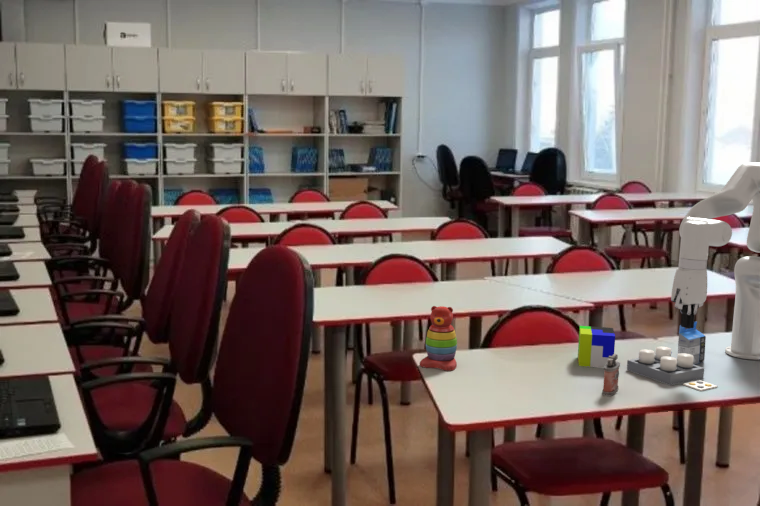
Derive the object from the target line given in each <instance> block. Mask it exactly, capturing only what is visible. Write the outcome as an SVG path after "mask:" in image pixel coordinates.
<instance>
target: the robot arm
mask: <svg viewBox="0 0 760 506" xmlns="http://www.w3.org/2000/svg"><path fill="white" fill-rule="evenodd" d="M751 201H752V203H753V208H752V209H753V211H752V215H751V219H750V224H749V228H748V231H747V232H748V233H747V238H746V246H747V248H748V250H750V251H751V252H755V253H757V254H758V253H760V162H755V161H754V162H752V161H751V162H745V163H742V164H740V166H738V168H736V170H735V171H734V173H733V174H732V175H731V177H730V178H729V179H728V181H727V182H726V184H725V185H724V186H723V188H722V189H721V191H719V192H717V193H714V194H712V195H711V196H707V197H706V198H704V199H702V200H701V201H698V202H697V203H696V204H694V205H693V206H692V207H691V208H690V209H689V210H688V212H687V213H686V215H685V216H684V218H683V219H682V220H681V223H680V225H679V230H678V231H679V232H678V233H679V237H680V246H679V254H678V255H679V256H678V267H677V268H676V270H675V273H674V277H673V282H672V288H671V295H670V296H671V297H670V300H671V302H672V303H675V304H674V308H675V309H678V310H680V311H679V312H680V314H681V320H680V325H681V327H685V329H690V328H694V322H695V317H696V314H698V313H697V312H698V309H699V308H701V307H703V306H704V303H705V302H706V300H707V296H708V271H707V270H708V269H707V268H708V267H707V265H708V258H709V257H708V256H709V248H710V247H722V246H725V245H727V244H728V243H730V241H731V239H732V235H733V229H732V227H731V225H730V224H729V223H728V222H726V221H723V220H719V219H715V218H720V217H725V216H730V215H734V214H738V213H740V212H743V211H744V210H745V209H746V208H747V207H748V206H749V204H750V202H751ZM733 274H734V284H735V299H734V307H733V321H732V332H731V342H730V345H729V346H726V347H725V350H724V351H725V353H726V354H727V355H729V356H731V357H735V358H738V359H744V360H757V361H758V360H760V256H754V255H749V256H743V257H740V258H739V259H737V261H736V262H735V265H734V273H733Z"/></svg>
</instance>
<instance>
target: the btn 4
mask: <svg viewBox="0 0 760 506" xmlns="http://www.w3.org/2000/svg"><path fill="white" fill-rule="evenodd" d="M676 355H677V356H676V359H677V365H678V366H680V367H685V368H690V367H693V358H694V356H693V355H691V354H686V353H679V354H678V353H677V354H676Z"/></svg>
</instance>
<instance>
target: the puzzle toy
mask: <svg viewBox="0 0 760 506" xmlns="http://www.w3.org/2000/svg"><path fill="white" fill-rule="evenodd" d="M615 344H616V334H615V331H614V328H613V327H605V326H604V327H603V326H589V325H579V331H578V349H577V362H578V366H579V367H587V366H589V367H590V368H600V367H604V366H605V364H607V361H608V358H609V356H612V355H613V354H615V347H616V346H615Z"/></svg>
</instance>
